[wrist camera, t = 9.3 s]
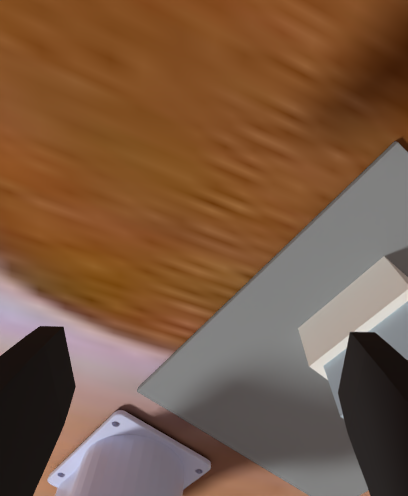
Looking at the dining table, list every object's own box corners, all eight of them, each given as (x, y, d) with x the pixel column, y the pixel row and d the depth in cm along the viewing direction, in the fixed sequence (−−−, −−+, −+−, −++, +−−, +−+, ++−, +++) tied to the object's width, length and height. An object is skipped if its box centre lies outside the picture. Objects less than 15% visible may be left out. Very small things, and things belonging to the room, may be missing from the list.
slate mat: (332, 506, 29) (333, 510, 29) (137, 387, 25) (137, 391, 24) (599, 349, 22) (604, 353, 22) (395, 140, 17) (397, 142, 17)
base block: (368, 381, 23) (388, 423, 21) (297, 328, 22) (309, 366, 19) (455, 320, 21) (490, 358, 18) (383, 255, 20) (410, 287, 17)
